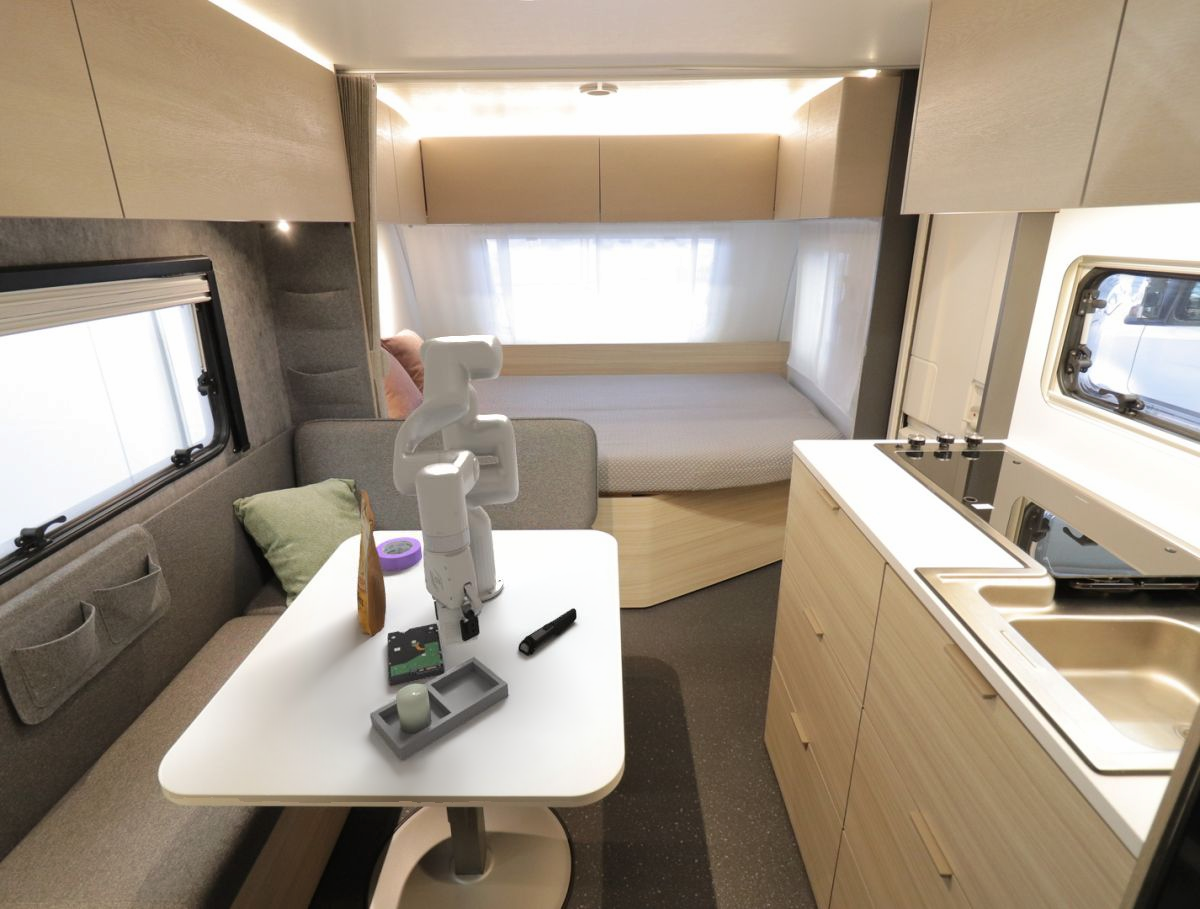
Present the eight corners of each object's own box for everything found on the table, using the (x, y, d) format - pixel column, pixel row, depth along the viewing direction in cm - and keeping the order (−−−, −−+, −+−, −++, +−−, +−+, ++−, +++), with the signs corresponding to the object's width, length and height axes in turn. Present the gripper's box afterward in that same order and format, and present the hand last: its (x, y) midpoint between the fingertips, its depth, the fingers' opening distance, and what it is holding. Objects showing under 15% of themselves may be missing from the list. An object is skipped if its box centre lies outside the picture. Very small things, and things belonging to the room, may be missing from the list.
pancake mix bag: (392, 591, 146) (375, 483, 137) (392, 637, 129) (372, 517, 120) (363, 596, 144) (343, 488, 135) (359, 643, 127) (336, 522, 118)
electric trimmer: (581, 623, 133) (581, 610, 132) (529, 658, 121) (528, 644, 120) (569, 617, 135) (568, 604, 134) (517, 651, 124) (516, 637, 123)
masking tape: (429, 550, 166) (427, 537, 165) (411, 571, 155) (409, 558, 154) (388, 548, 168) (386, 536, 166) (368, 570, 157) (366, 557, 156)
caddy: (402, 761, 98) (399, 748, 97) (372, 725, 105) (369, 713, 104) (508, 695, 111) (507, 683, 110) (475, 667, 119) (474, 656, 118)
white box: (478, 640, 105) (474, 603, 103) (443, 648, 103) (438, 611, 101) (472, 621, 111) (468, 585, 108) (438, 628, 109) (434, 593, 106)
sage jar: (395, 722, 105) (390, 694, 103) (422, 707, 108) (418, 679, 106) (409, 738, 101) (404, 709, 99) (437, 722, 105) (433, 693, 103)
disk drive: (388, 644, 128) (390, 689, 114) (386, 633, 127) (388, 676, 113) (438, 633, 131) (446, 675, 118) (437, 622, 130) (444, 663, 117)
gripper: (400, 529, 104) (414, 616, 110) (454, 563, 92) (466, 659, 98) (439, 515, 109) (450, 599, 115) (495, 546, 97) (504, 638, 103)
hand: (457, 626), depth 106 cm, fingers closed on white box, 7 cm apart
